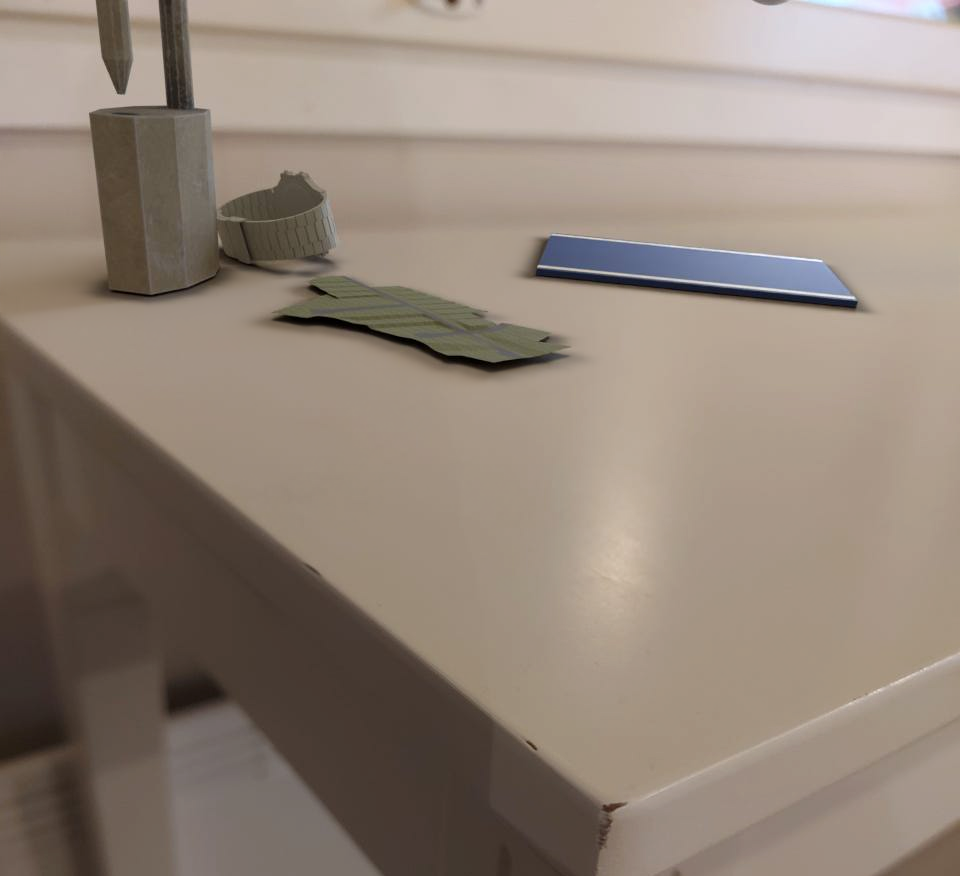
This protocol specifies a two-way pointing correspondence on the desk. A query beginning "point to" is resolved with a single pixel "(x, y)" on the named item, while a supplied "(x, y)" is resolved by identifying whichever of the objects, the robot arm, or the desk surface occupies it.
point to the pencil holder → (154, 165)
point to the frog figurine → (771, 2)
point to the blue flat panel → (693, 269)
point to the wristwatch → (278, 222)
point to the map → (422, 320)
